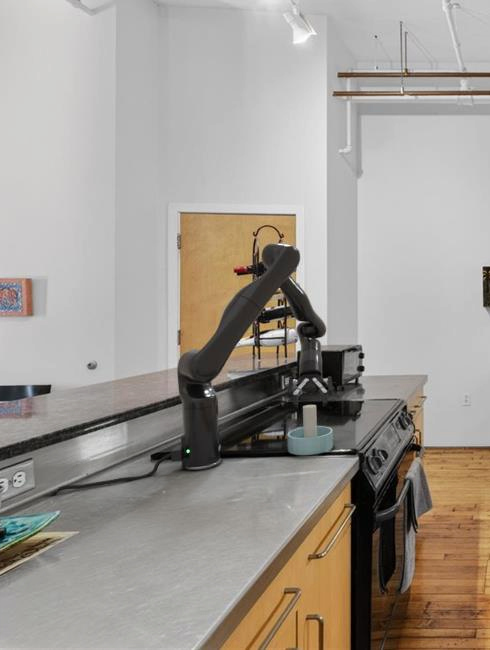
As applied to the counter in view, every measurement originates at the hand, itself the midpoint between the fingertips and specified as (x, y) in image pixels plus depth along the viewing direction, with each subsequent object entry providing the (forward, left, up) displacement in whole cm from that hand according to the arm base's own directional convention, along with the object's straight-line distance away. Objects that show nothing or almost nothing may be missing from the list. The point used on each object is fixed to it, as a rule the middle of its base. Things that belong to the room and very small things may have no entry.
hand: (310, 405), depth 151 cm
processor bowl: (0, -6, -12) cm, 14 cm away
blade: (0, -6, -12) cm, 13 cm away
